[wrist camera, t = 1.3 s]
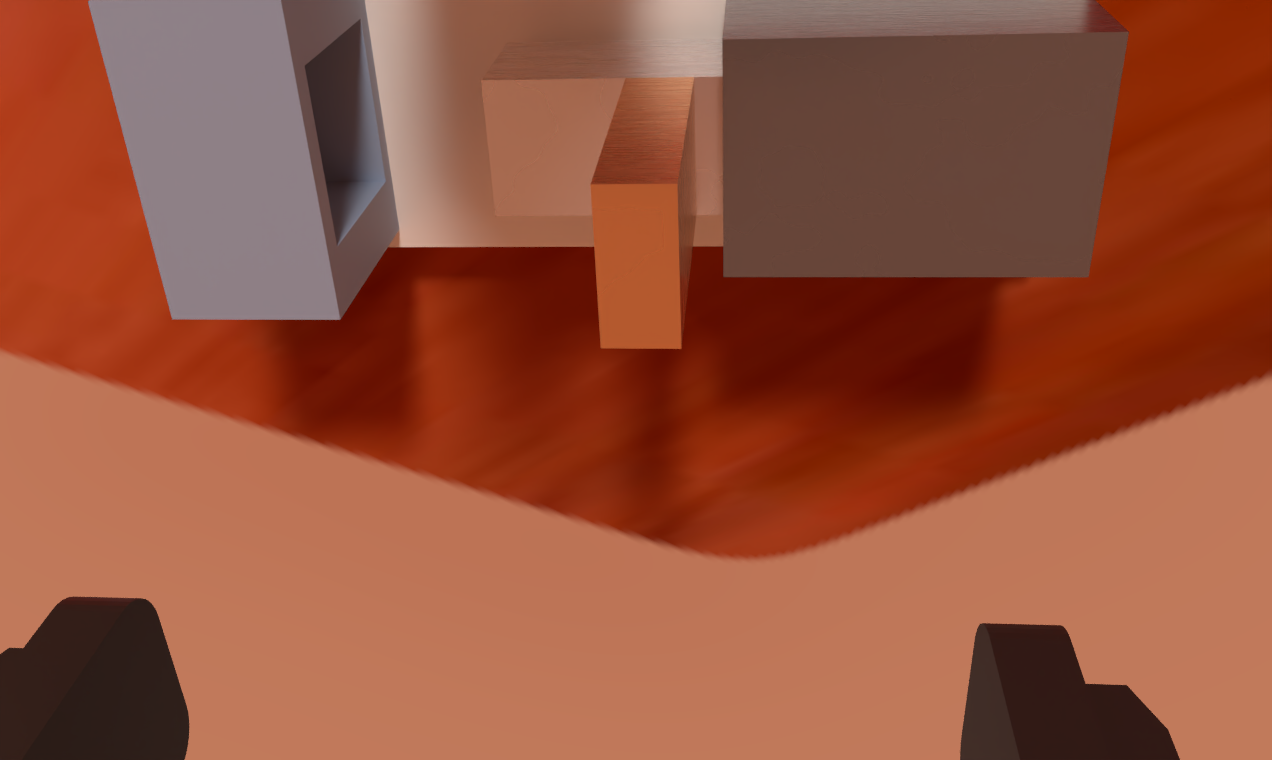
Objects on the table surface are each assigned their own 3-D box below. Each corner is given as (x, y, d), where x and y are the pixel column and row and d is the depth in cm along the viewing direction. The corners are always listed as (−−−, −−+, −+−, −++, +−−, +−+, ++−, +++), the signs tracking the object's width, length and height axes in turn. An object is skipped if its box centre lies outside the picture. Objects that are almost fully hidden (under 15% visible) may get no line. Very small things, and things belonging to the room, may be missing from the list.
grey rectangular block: (1067, -26, 26) (1128, 31, 22) (1038, 188, 29) (1087, 277, 25) (728, -18, 27) (722, 39, 23) (728, 190, 30) (723, 277, 25)
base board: (1084, -109, 27) (1101, -99, 26) (1039, 222, 31) (1051, 245, 30) (190, -82, 29) (163, -71, 28) (256, 225, 33) (236, 247, 32)
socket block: (356, -54, 27) (280, -4, 23) (399, 229, 31) (340, 319, 26) (193, -49, 28) (87, 1, 23) (254, 230, 31) (172, 319, 27)
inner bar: (1047, 32, 26) (1172, 179, 18) (1030, 163, 28) (1138, 351, 20) (507, 42, 27) (407, 185, 19) (518, 168, 29) (431, 347, 21)
